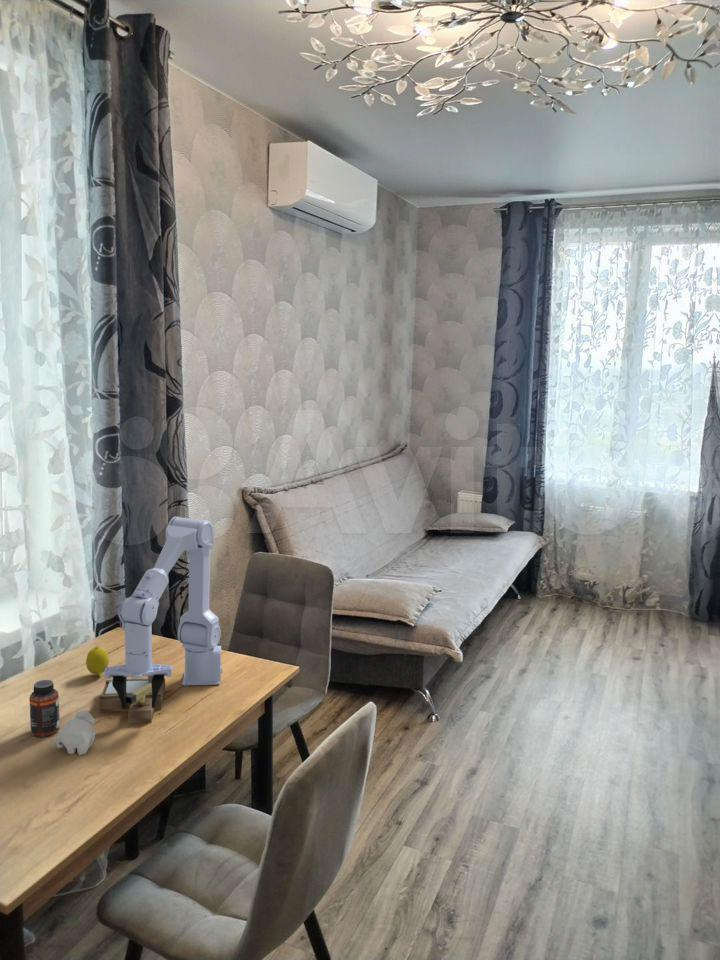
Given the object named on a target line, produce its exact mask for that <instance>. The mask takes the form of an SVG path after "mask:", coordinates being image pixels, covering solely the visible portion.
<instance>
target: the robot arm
mask: <svg viewBox="0 0 720 960" xmlns="http://www.w3.org/2000/svg"><path fill="white" fill-rule="evenodd" d="M214 529H215V528H214V525H213V524H212V522H210V520H207V519H195V518H187V517H181V516H173V517H172V518H171V519H170V520H169V522H168V523H167V526H166V528H165V538H166V541H165V543H164V545H163V547H162V550H161V551H160V553H159V556H158V558H157V559H156V562H155V564H154V566H153V568H150V569H147V570H146V571H145V573H144V574H143V576H142V578H141V579H140V581H139V582H138V585H137V586H136V588H135V590H134V591H133V593H132V594H131V596H129V597H126V598H125V599H123V600H122V602H121V603H120V608H119V611H118V618H119V620H120V622H121V624H122V625H121V628H122V630H123V631H124V651H125V652H124V653H125V656H124V658H125V659H124V660H125V663H124V664H123V665H122V664H120V665H116V666H108V667H106V669H105V671H104V672H103V673H104V679H105V680H110V679H111V678H112V680H113V681H112V685H113V687H114V688H115V690H116V691H117V693H118V695H119V698H120V700H121V704H122V709H126V706H127V703H126V696H127V692H126V681H127V678H129V677H130V678H131V679H142V677H148V676H153V678H152V682H151V684H152V708H155V706H156V699H157V695H158V692H159V690H160V687H161V685H162V683H163V680H164V678H165V677H167V678H172V677H173V665H167V664H166V665H165V664H157V663H153V639H152V638H153V637H152V636H153V635H152V633H153V631H152V628H153V627H152V626H153V625H152V624H153V623H154V621H155V619H157V615H158V608H159V606H160V602H159V600H160V599H161V597H162V595H163V593H164V592H165V590H166V588H167V586H168V584H169V583H170V582H169V577H168V575H169V573H170V571H171V570H172V569H173V567H174V566H175V564H176V563H177V561H178V560H179V558H180V557H181V555H182V554H183V553H184V552H185V551H187V552H188V553H189V556H188V557H189V559H188V561H189V562H188V611H186V612H185V613H183V614H182V615H181V616H180V618H179V625H178V628H177V633H176V634H177V640H178V642H179V643H180V644H181V646H182V648H184V673H183V678H182V686H210V685H211V686H212V685H213V686H214V685H221V677H222V675H223V666H222V646H221V645H218V644H219V643H220V641H221V640H220V639H221V637H222V631H221V627H220V621H219V620H220V618H219V617H218V616H217V615H216V614H215V613H214V612H213V611H212V610H211V609H210V582H211V581H210V579H211V578H210V577H211V574H210V573H211V550H213V549H214V541H215V539H214V538H215V537H214V533H215V530H214Z"/></svg>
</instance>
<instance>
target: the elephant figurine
mask: <svg viewBox="0 0 720 960" xmlns="http://www.w3.org/2000/svg"><path fill="white" fill-rule="evenodd" d="M94 724H95V718H94V717H93V715H92V714H91V713H90V712H88V710H80V711H78V712H77V713H76V714H75V716H74V717H72V718H70V719H69V720H67V722H66V723H65V725H63V727H61V729H59V732H57V733H56V736H57V737H55V738H54V739H53V740H51V741H50V742H49V744H51V743H54V742H55V744H56V747H57V748H58V749H61V748H63V747H64V746H65V748H66V752H67V754H69V755H74V754H75V753H76V752H77V754H78V755H79V756H82V755H85V754H86V753H87V752H88V751H89V748H90V747H92V745H93V743H94V741H95V737H96V734H98V732H97V731H96V732H95V730H94V727H93V725H94Z"/></svg>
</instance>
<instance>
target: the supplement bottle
mask: <svg viewBox="0 0 720 960" xmlns="http://www.w3.org/2000/svg"><path fill="white" fill-rule="evenodd" d="M54 687H55V685H54V681H53V680H51V679H41V680H39V681H36V682H35V683H34V684H33V691H32V692H31V694H30V695H29V721H30V733H31V734H32V735H33V736H35V737H39V738H42V737H44V738H45V737H49V736H52V735H54V734H57V733H58V731H60V728H61V727H60V725H61V722H60V721H61V720H60V699H59V698H60V695H59V692H58V690H57V689H55V688H54Z"/></svg>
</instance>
